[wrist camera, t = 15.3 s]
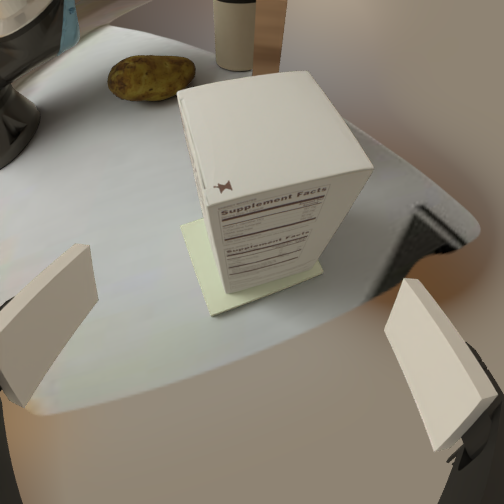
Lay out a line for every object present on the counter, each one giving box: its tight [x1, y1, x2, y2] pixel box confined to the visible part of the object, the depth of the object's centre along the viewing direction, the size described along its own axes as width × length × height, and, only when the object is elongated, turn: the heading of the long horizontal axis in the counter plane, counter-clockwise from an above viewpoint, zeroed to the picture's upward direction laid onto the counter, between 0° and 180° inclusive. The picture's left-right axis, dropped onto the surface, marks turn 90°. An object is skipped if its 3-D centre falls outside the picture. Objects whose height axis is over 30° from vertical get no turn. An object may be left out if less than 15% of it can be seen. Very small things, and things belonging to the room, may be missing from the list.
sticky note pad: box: [180, 218, 324, 317], centre depth 31 cm, size 10×12×1 cm
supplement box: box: [177, 71, 374, 294], centre depth 23 cm, size 10×9×17 cm
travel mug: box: [213, 0, 256, 71], centre depth 35 cm, size 8×8×18 cm
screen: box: [252, 0, 287, 76], centre depth 27 cm, size 18×8×22 cm, turn 175°
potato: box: [107, 55, 196, 101], centre depth 36 cm, size 8×13×8 cm, turn 102°
